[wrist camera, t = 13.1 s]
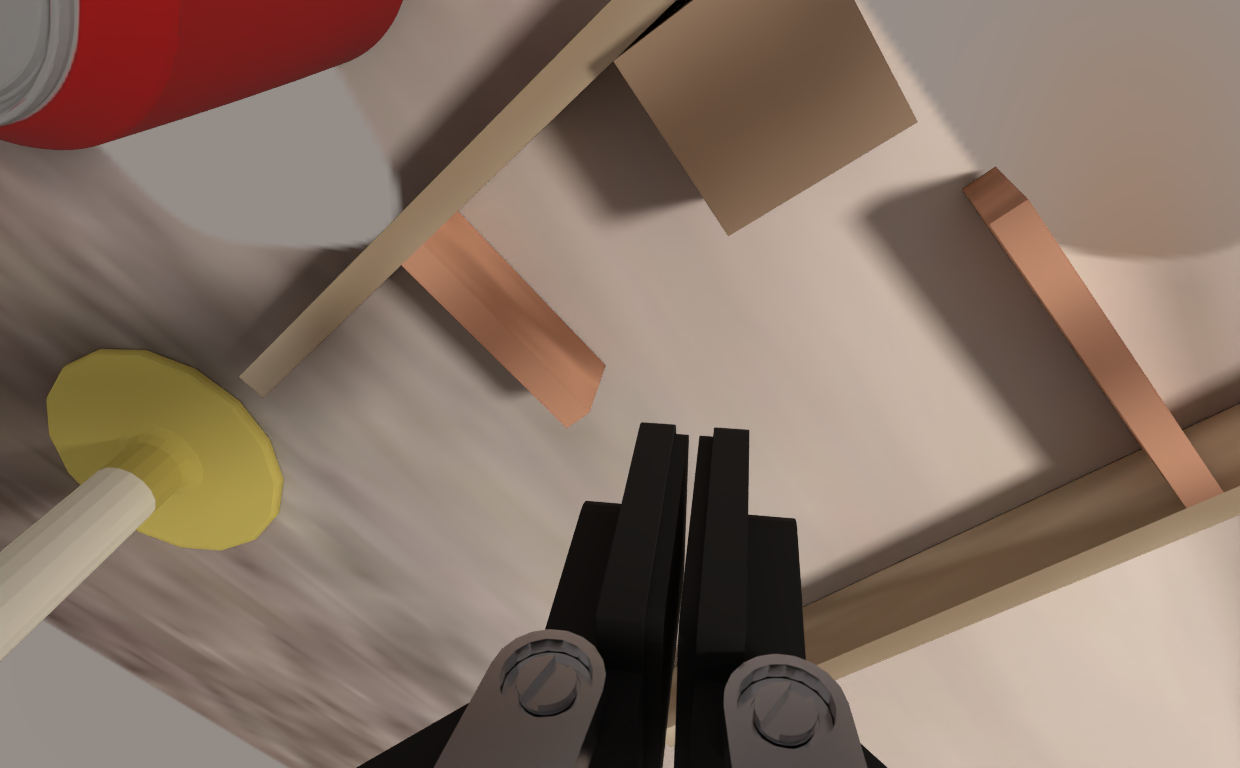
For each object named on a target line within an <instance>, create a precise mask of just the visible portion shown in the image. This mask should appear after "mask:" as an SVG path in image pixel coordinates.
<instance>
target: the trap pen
mask: <svg viewBox="0 0 1240 768" xmlns="http://www.w3.org/2000/svg"><path fill="white" fill-rule="evenodd" d="M675 1H676V0H611V1H610V2H609V3H608V4H607V5H606V6H605V7H604V8H603V9H602V10H601V11H600V12H599V13H598V14H597V15H596V16H595V17H594V18H593V19H592V20H591V21H590V22H589V23H588V24H587V25H586V26H585V27H584V28H583V29H582V30H581V31H580V32H579V33H578V34H577V35H576V36H575V37H574V38H573V39H572V40H571V41H570V42H569V43H568V44H567V45H566V46H565V47H564V48H563V49H562V50H561V51H560V52H559V54H558V55H557V56H556V57H555V58H554V59H553V60H552V61H551V62H550V63H549V64H548V65H547V66H546V67H545V68H544V69H543V70H542V71H541V72H540V73H539V74H538V75H537V76H536V77H535V78H534V79H533V80H532V81H531V82H530V83H529V84H528V85H527V86H526V87H525V88H524V89H523V90H522V91H521V92H520V93H519V94H518V95H517V96H516V97H515V98H514V99H513V100H512V101H511V102H510V103H509V104H508V105H507V106H506V107H505V108H504V109H503V110H502V111H501V112H500V113H499V114H498V115H497V116H496V117H495V118H494V119H493V120H492V121H491V122H490V123H489V124H488V125H487V126H486V127H485V128H484V129H483V130H482V131H481V132H480V133H479V134H478V135H477V136H476V137H475V139H474V140H473V141H472V142H471V143H470V144H469V145H468V146H467V147H466V148H465V149H464V150H463V151H462V152H461V153H460V154H459V155H458V156H457V157H456V158H455V159H454V160H453V161H452V162H451V163H450V164H449V165H448V166H447V167H446V168H445V169H444V170H443V171H442V172H441V173H440V174H439V175H438V176H437V177H436V178H435V179H434V180H433V181H432V182H431V183H430V184H429V185H428V186H427V187H426V188H425V189H424V190H423V191H422V192H421V193H420V194H419V195H418V196H417V197H416V198H415V199H414V200H413V201H412V202H411V203H410V204H409V205H408V206H407V207H406V208H405V209H404V210H403V211H402V212H401V213H400V214H399V215H398V216H397V217H396V218H395V219H394V220H393V221H392V222H391V224H390V225H389V226H388V227H387V228H386V229H385V230H384V231H383V232H382V233H381V234H380V235H379V236H378V237H377V238H376V239H375V240H374V241H373V242H372V243H371V244H370V245H369V246H368V247H367V248H366V249H365V250H364V251H363V252H362V253H361V254H360V255H359V256H358V257H357V258H356V259H355V260H354V261H353V262H352V263H351V264H350V265H349V266H348V267H347V268H346V269H345V270H344V271H343V272H342V273H341V274H340V275H339V276H338V277H337V278H336V279H335V280H334V281H333V282H332V283H331V284H330V285H329V286H328V287H327V288H326V289H325V290H324V291H323V292H322V293H321V294H320V295H319V296H318V297H317V298H316V299H315V300H314V301H313V302H312V303H311V304H310V305H309V306H308V307H307V309H306V310H305V311H304V312H303V313H302V314H301V315H300V316H299V317H298V318H297V319H296V320H295V321H294V322H293V323H292V324H291V325H290V326H289V327H288V328H287V329H286V330H285V331H284V332H283V333H282V334H281V335H280V336H279V337H278V338H277V339H276V340H275V341H274V342H273V343H272V344H271V345H270V346H269V347H268V348H267V349H266V350H265V351H264V352H263V353H262V354H261V355H260V356H259V357H258V358H257V359H256V360H255V361H254V362H253V363H252V364H251V365H250V366H249V367H248V368H247V369H246V370H245V371H244V372H243V373H242V374H241V375H240V376H239V377H240V378H241V379H242V380H243V381H244V382H245V383H247V384H248V385H249V386H250V387H251V388H252V389H254V390H255V391H256V392H257V393H258V394H259V395H261V396H262V397H263V398H264V397H265V396H266V395H267V394H268V393H269V392H270V391H271V390H272V389H273V388H274V387H275V386H276V385H277V384H278V383H279V382H280V381H281V380H282V379H283V378H285V377H286V376H287V375H288V374H289V373H290V372H291V371H292V370H293V369H294V368H295V367H296V366H297V365H298V364H299V363H300V362H301V361H302V360H303V359H304V358H305V357H306V356H308V355H309V354H310V353H311V352H312V351H313V350H314V349H315V348H316V347H317V346H318V345H319V344H320V343H321V342H322V341H323V340H324V339H325V338H326V337H327V336H328V335H329V334H330V333H331V332H332V331H334V330H335V329H336V328H337V327H338V326H339V325H340V324H341V323H342V322H343V321H344V320H345V319H346V318H347V317H348V316H349V315H350V314H351V313H352V312H353V311H354V310H355V309H356V308H357V307H358V306H359V305H361V304H362V303H363V302H364V301H365V300H366V299H367V298H368V297H369V296H370V295H371V294H372V293H373V292H374V291H375V290H376V289H377V288H378V287H379V286H380V285H381V284H382V283H383V282H384V281H385V280H386V279H388V278H389V277H390V276H391V275H392V274H393V273H394V272H395V271H396V270H397V269H398V268H399V267H400V266H401V265H402V266H403V267H404V268H405V269H406V270H407V271H408V272H409V273H410V274H411V275H412V276H413V277H414V278H415V279H416V280H417V281H418V282H419V283H420V284H421V285H422V286H423V287H424V288H425V289H426V290H427V291H428V292H429V293H430V294H431V295H432V296H433V297H434V298H435V299H436V300H437V301H438V302H439V303H440V304H441V305H442V306H443V307H444V308H445V309H446V310H447V311H448V312H449V313H450V314H451V315H452V316H453V317H454V318H455V319H456V320H457V321H458V322H459V323H460V324H461V325H462V326H464V327H465V328H466V329H467V330H468V331H469V332H470V333H471V334H472V335H473V336H474V337H475V338H476V339H477V340H478V341H479V342H480V343H481V344H482V345H483V346H484V347H485V348H486V349H487V350H488V351H489V352H490V353H491V354H492V355H493V356H494V357H495V358H496V359H497V360H498V361H499V362H500V363H501V364H502V365H503V366H504V367H505V368H506V369H507V370H508V371H509V372H510V373H511V374H512V375H513V376H514V377H515V378H516V379H517V380H518V381H519V382H520V383H521V384H522V385H523V386H524V387H525V388H526V389H527V390H528V391H529V392H530V393H531V394H533V395H534V396H535V397H536V398H537V399H538V400H539V401H540V402H541V403H542V404H543V405H544V406H545V407H546V408H547V409H548V410H549V411H550V412H551V413H552V414H553V415H554V416H555V417H556V418H557V419H558V420H559V421H560V422H561V423H562V424H563V425H564V426H565V427H566V428H568V427H569V426H571V425H572V424H573V423H575V422H576V421H578V420H579V419H581V418H582V417H583V416H585V415H586V414H588V413H589V412H590V409H591V406H592V403H593V400H594V398H595V395H596V392H597V389H598V386H599V383H600V380H601V377H602V374H603V371H604V368H605V366H606V365H605V364H604V363H603V362H602V361H601V360H600V359H599V358H598V357H597V356H596V355H595V354H594V353H593V352H592V351H591V350H590V349H589V347H588V346H587V345H586V344H585V343H584V342H583V341H582V340H581V339H580V338H579V337H578V336H577V335H576V334H575V333H574V332H573V331H572V330H571V329H570V328H569V327H568V326H567V325H566V324H565V322H564V321H563V320H562V319H561V318H560V317H559V316H558V315H557V314H556V313H555V312H554V311H553V310H552V309H551V308H550V307H549V306H548V305H547V304H546V303H545V302H544V301H543V300H542V298H541V297H540V296H539V295H538V294H537V293H536V292H535V291H534V290H533V289H532V288H531V287H530V286H529V285H528V284H527V283H526V282H525V281H524V280H523V279H522V278H521V277H520V276H519V274H518V273H517V272H516V271H515V270H514V269H513V268H512V267H511V266H510V265H509V264H508V263H507V262H506V261H505V260H504V259H503V258H502V257H501V256H500V255H499V254H498V253H497V252H496V250H495V249H494V248H493V247H492V246H491V245H490V244H489V243H488V242H487V241H486V240H485V239H484V238H483V237H482V236H481V235H480V234H479V233H478V232H477V231H476V230H475V229H474V228H473V226H472V225H471V224H470V223H469V222H468V221H467V220H466V219H465V218H464V217H463V216H462V215H461V214H460V213H459V212H458V210H459V209H460V208H461V207H462V206H463V205H464V204H465V203H466V202H468V201H469V200H470V199H471V198H472V197H473V196H474V195H475V194H476V193H477V192H478V191H479V190H480V189H481V188H482V187H483V186H484V185H485V184H486V183H487V182H488V181H489V180H490V179H491V178H492V177H493V176H495V175H496V174H497V173H498V172H499V171H500V170H501V169H502V168H503V167H504V166H505V165H506V164H507V163H508V162H509V161H510V160H511V159H512V158H513V157H514V156H515V155H516V154H517V153H518V152H519V151H520V150H522V149H523V148H524V147H525V146H526V145H527V144H528V143H529V142H530V141H531V140H532V139H533V138H534V137H535V136H536V135H537V134H538V133H539V132H540V131H541V130H542V129H543V128H544V127H545V126H546V125H548V124H549V123H550V122H551V121H552V120H553V119H554V118H555V117H556V116H557V115H558V114H559V113H560V112H561V111H562V110H563V109H564V108H565V107H566V106H567V105H568V104H569V103H570V102H571V101H572V100H573V99H575V98H576V97H577V96H578V95H579V94H580V93H581V92H582V91H583V90H584V89H585V88H586V87H587V86H588V85H589V84H590V83H591V82H592V81H593V80H594V79H595V78H596V77H597V76H598V75H599V74H600V73H602V72H603V71H604V70H605V69H606V68H607V67H608V66H609V65H610V64H611V63H612V62H613V61H614V60H615V59H616V58H617V57H618V56H619V55H620V54H621V53H622V52H623V51H624V50H625V49H626V48H627V47H629V46H630V45H631V44H632V43H633V42H634V41H635V40H636V39H637V38H638V37H639V36H640V35H641V34H642V33H643V32H644V31H645V30H646V29H647V28H648V27H649V26H650V25H651V24H652V23H653V22H655V21H656V20H657V19H658V18H659V17H660V16H661V15H662V14H663V13H664V12H665V11H666V10H667V9H668V8H669V7H670V6H671V5H672V4H673V3H674V2H675ZM962 190H963V192H964V193H965V195H966V196H967V197H968V199H969V200H970V202H971V203H972V205H973V206H974V207H975V209H976V210H977V212H978V213H979V215H980V216H981V218H982V219H983V220H984V222H985V223H986V225H987V226H988V228H989V229H990V230H991V232H992V233H993V235H994V236H995V238H996V239H997V240H998V242H999V243H1000V245H1001V246H1002V248H1003V249H1004V251H1005V252H1006V253H1007V255H1008V256H1009V258H1010V259H1011V261H1012V262H1013V263H1014V265H1015V266H1016V268H1017V269H1018V271H1019V272H1020V274H1021V275H1022V276H1023V278H1024V279H1025V281H1026V282H1027V284H1028V285H1029V286H1030V288H1031V289H1032V291H1033V292H1034V294H1035V295H1036V296H1037V298H1038V299H1039V301H1040V302H1041V304H1042V305H1043V307H1044V308H1045V309H1046V311H1047V312H1048V314H1049V315H1050V317H1051V318H1052V319H1053V321H1054V322H1055V324H1056V325H1057V327H1058V328H1059V329H1060V331H1061V332H1062V334H1063V335H1064V337H1065V338H1066V340H1067V341H1068V342H1069V344H1070V345H1071V347H1072V348H1073V350H1074V351H1075V352H1076V354H1077V355H1078V357H1079V358H1080V360H1081V361H1082V362H1083V364H1084V365H1085V367H1086V368H1087V370H1088V371H1089V373H1090V374H1091V375H1092V377H1093V378H1094V380H1095V381H1096V383H1097V384H1098V385H1099V387H1100V388H1101V390H1102V391H1103V393H1104V394H1105V395H1106V397H1107V398H1108V400H1109V401H1110V403H1111V404H1112V406H1113V407H1114V408H1115V410H1116V411H1117V413H1118V414H1119V416H1120V417H1121V418H1122V420H1123V421H1124V423H1125V424H1126V426H1127V427H1128V428H1129V430H1130V431H1131V433H1132V434H1133V436H1134V437H1135V439H1136V440H1137V441H1138V443H1139V444H1140V446H1141V447H1142V449H1141V450H1139V451H1137V452H1135V453H1133V454H1131V455H1128V456H1126V457H1124V458H1122V459H1120V460H1118V461H1116V462H1113V463H1111V464H1109V465H1107V466H1105V467H1103V468H1101V469H1098V470H1096V471H1094V472H1092V473H1090V474H1088V475H1086V476H1083V477H1081V478H1079V479H1077V480H1075V481H1073V482H1071V483H1068V484H1066V485H1064V486H1062V487H1060V488H1058V489H1056V490H1053V491H1051V492H1049V493H1047V494H1045V495H1043V496H1041V497H1038V498H1036V499H1034V500H1032V501H1030V502H1028V503H1026V504H1023V505H1021V506H1019V507H1017V508H1015V509H1013V510H1011V511H1008V512H1006V513H1004V514H1002V515H1000V516H998V517H996V518H994V519H991V520H989V521H987V522H985V523H983V524H981V525H979V526H976V527H974V528H972V529H970V530H968V531H966V532H964V533H961V534H959V535H957V536H955V537H953V538H951V539H949V540H946V541H944V542H942V543H940V544H938V545H936V546H934V547H931V548H929V549H927V550H925V551H923V552H921V553H919V554H916V555H914V556H912V557H910V558H908V559H906V560H904V561H901V562H899V563H897V564H895V565H893V566H891V567H889V568H886V569H884V570H882V571H880V572H878V573H876V574H874V575H871V576H869V577H867V578H865V579H863V580H861V581H859V582H856V583H854V584H852V585H850V586H848V587H846V588H844V589H841V590H839V591H837V592H835V593H833V594H831V595H829V596H826V597H824V598H822V599H820V600H818V601H816V602H814V603H811V604H809V605H807V606H805V607H803V623H804V638H805V652H806V660H807V661H809V662H812V663H814V664H815V665H817V666H818V667H820V668H821V669H823V670H824V671H826V672H827V673H828V674H829V675H830V676H831V677H832V678H833V679H834V680H837V679H839V678H841V677H844V676H846V675H849V674H851V673H854V672H856V671H859V670H861V669H863V668H866V667H868V666H871V665H873V664H876V663H878V662H881V661H883V660H885V659H888V658H890V657H893V656H895V655H898V654H900V653H903V652H905V651H908V650H910V649H912V648H915V647H917V646H920V645H922V644H925V643H927V642H930V641H932V640H934V639H937V638H939V637H942V636H944V635H947V634H949V633H952V632H954V631H956V630H959V629H961V628H964V627H966V626H969V625H971V624H974V623H976V622H979V621H981V620H983V619H986V618H988V617H991V616H993V615H996V614H998V613H1001V612H1003V611H1005V610H1008V609H1010V608H1013V607H1015V606H1018V605H1020V604H1023V603H1025V602H1027V601H1030V600H1032V599H1035V598H1037V597H1040V596H1042V595H1045V594H1047V593H1049V592H1052V591H1054V590H1057V589H1059V588H1062V587H1064V586H1067V585H1069V584H1072V583H1074V582H1076V581H1079V580H1081V579H1084V578H1086V577H1089V576H1091V575H1094V574H1096V573H1098V572H1101V571H1103V570H1106V569H1108V568H1111V567H1113V566H1116V565H1118V564H1120V563H1123V562H1125V561H1128V560H1130V559H1133V558H1135V557H1138V556H1140V555H1142V554H1145V553H1147V552H1150V551H1152V550H1155V549H1157V548H1160V547H1162V546H1165V545H1167V544H1169V543H1172V542H1174V541H1177V540H1179V539H1182V538H1184V537H1187V536H1189V535H1191V534H1194V533H1196V532H1199V531H1201V530H1204V529H1206V528H1209V527H1211V526H1213V525H1216V524H1218V523H1221V522H1223V521H1226V520H1228V519H1231V518H1233V517H1235V516H1238V515H1240V404H1238V405H1236V406H1233V407H1231V408H1229V409H1227V410H1225V411H1223V412H1221V413H1218V414H1216V415H1214V416H1212V417H1210V418H1208V419H1206V420H1203V421H1201V422H1199V423H1197V424H1195V425H1193V426H1191V427H1188V428H1186V429H1184V430H1182V429H1181V428H1180V426H1179V425H1178V423H1177V422H1176V420H1175V419H1174V417H1173V416H1172V414H1171V413H1170V411H1169V410H1168V408H1167V407H1166V405H1165V404H1164V402H1163V401H1162V399H1161V398H1160V396H1159V395H1158V393H1157V392H1156V390H1155V389H1154V387H1153V386H1152V384H1151V383H1150V381H1149V380H1148V378H1147V377H1146V375H1145V374H1144V372H1143V371H1142V369H1141V368H1140V366H1139V365H1138V363H1137V362H1136V360H1135V359H1134V357H1133V356H1132V354H1131V353H1130V351H1129V350H1128V348H1127V347H1126V345H1125V344H1124V342H1123V341H1122V339H1121V338H1120V336H1119V335H1118V333H1117V332H1116V330H1115V329H1114V327H1113V326H1112V324H1111V323H1110V321H1109V320H1108V318H1107V317H1106V315H1105V314H1104V312H1103V311H1102V309H1101V308H1100V306H1099V305H1098V303H1097V302H1096V300H1095V299H1094V297H1093V296H1092V294H1091V293H1090V291H1089V290H1088V288H1087V287H1086V285H1085V284H1084V282H1083V281H1082V279H1081V278H1080V276H1079V275H1078V273H1077V272H1076V270H1075V269H1074V267H1073V266H1072V264H1071V263H1070V261H1069V260H1068V258H1067V257H1066V255H1065V254H1064V252H1063V251H1062V249H1061V248H1060V246H1059V245H1058V243H1057V242H1056V240H1055V239H1054V237H1053V236H1052V234H1051V233H1050V231H1049V230H1048V228H1047V227H1046V225H1045V224H1044V222H1043V221H1042V219H1041V218H1040V216H1039V215H1038V213H1037V212H1036V210H1035V209H1034V207H1033V206H1032V204H1031V203H1030V201H1029V200H1028V199H1027V198H1026V197H1025V196H1024V195H1023V194H1022V193H1021V192H1020V191H1019V190H1018V189H1017V188H1016V187H1015V186H1014V185H1013V184H1012V183H1011V182H1010V181H1009V180H1008V179H1007V178H1006V177H1005V176H1004V175H1003V174H1002V173H1001V172H1000V171H999V170H998V169H997V168H996V167H994V168H993V169H991V170H990V171H988V172H987V173H985V174H984V175H982V176H981V177H979V178H978V179H976V180H975V181H973V182H972V183H971V184H969V185H968V186H966V187H965V188H963V189H962ZM676 691H677V667H674V669H673V678H672V687H671V696H670V705H669V714H668V723H667V732H666V741H665V743H666V744H668V745H669V746H670V747H673V746H675V722H676Z"/></svg>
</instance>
